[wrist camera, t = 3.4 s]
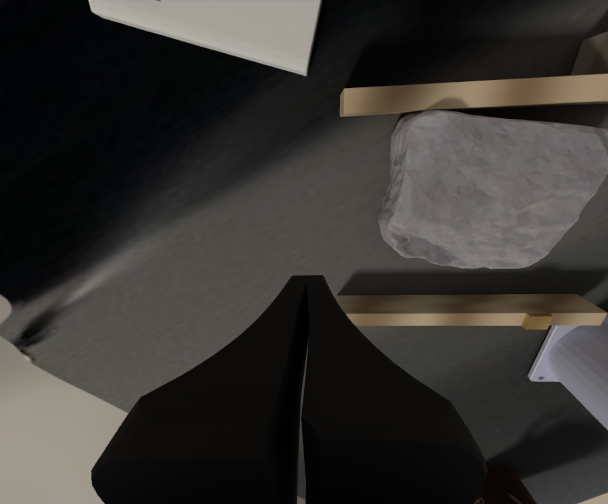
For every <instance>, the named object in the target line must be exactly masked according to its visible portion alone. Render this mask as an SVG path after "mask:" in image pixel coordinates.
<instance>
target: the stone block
mask: <svg viewBox="0 0 608 504" xmlns="http://www.w3.org/2000/svg"><path fill="white" fill-rule="evenodd" d="M390 149H391V152H390V159H391V162H390V175H391V178H390V184H389V186H388V188H387V191H386V194H385V195H384V197H383V199H382V204H381V209H380V212H379V214H378V223H379V226H380V232H381V235H382V237H383V239H384V240H385V241H386V242H387V243H388V244H389V245H390V246H391V247H392V248H393V249H394V250H396V251H397V252H398V253H399V254H400V255H401V256H403V257H406V258H417V257H419V258H423V259H425V260H427V261H428V262H430V263H434V264H438V265H442V266H454V267H459V268H471V269H472V268H481V267H486V268H489V269H499V268H505V269H511V268H517V269H519V268H524V267H528V266H530V265H532V264H533V263H536V262H537V261H539V260H540V259H542V258H543V257H545V256H546V255H547V254H549V252H550V251H551V249H552V248H553V247H554V245H555V244H556V243H557V242H558V241H559V240H560V239H561V238H562V237H563V235H564V234H565V233H566V231H567V230H568V229H569V228H570V227H571V226H572V225H574V224H575V223H576V222H577V221H578V220H579V216H580V213H581V211H582V210H583V208H584V206H585V204H586V203H587V202H588V201H589V200H590V199H591V198H592V197H593V196H594V195H595V194H596V192H597V191H598V189H599V186H600V185H601V184H602V182H603V181H604V179H605V178H606V176H607V174H608V129H602V128H596V127H589V126H582V125H573V124H563V123H554V122H543V121H530V120H515V119H503V118H494V117H485V116H477V115H469V114H465V113H461V112H451V111H442V110H428V111H417V112H414V113H409V114H407V115H406V116H404V117H403V118H401V119H400V121H399V122H398V123H397V125H396V127H395V129H394V130H393V132H392V134H391V143H390Z"/></svg>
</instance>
